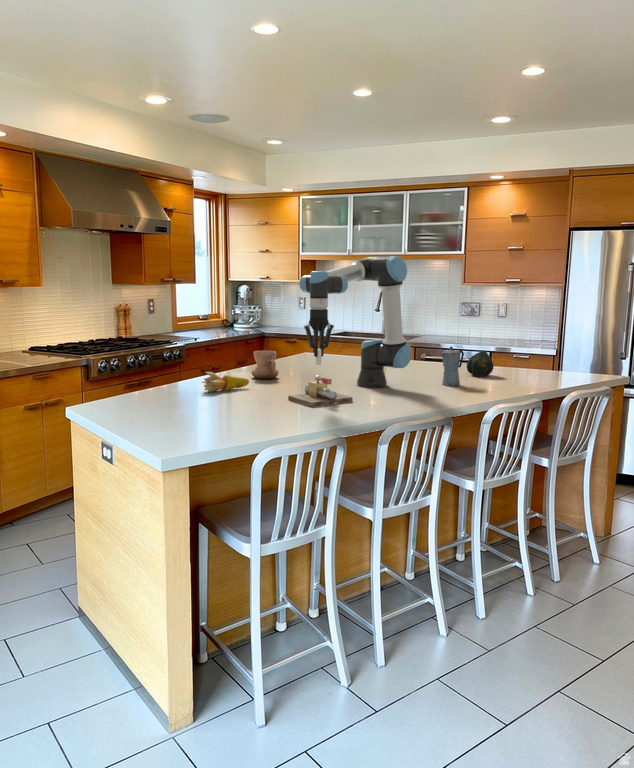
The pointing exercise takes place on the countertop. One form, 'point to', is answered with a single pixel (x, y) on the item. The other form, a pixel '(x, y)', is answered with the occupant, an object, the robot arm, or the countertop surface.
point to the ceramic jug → (265, 365)
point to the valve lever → (323, 379)
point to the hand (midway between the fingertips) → (318, 364)
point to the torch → (223, 382)
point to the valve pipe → (319, 390)
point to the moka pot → (451, 366)
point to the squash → (480, 364)
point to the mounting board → (318, 399)
